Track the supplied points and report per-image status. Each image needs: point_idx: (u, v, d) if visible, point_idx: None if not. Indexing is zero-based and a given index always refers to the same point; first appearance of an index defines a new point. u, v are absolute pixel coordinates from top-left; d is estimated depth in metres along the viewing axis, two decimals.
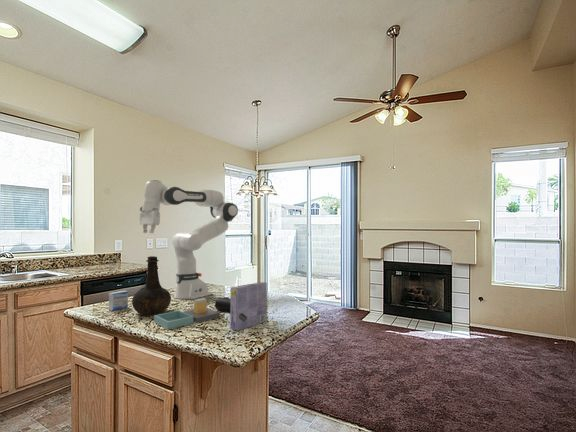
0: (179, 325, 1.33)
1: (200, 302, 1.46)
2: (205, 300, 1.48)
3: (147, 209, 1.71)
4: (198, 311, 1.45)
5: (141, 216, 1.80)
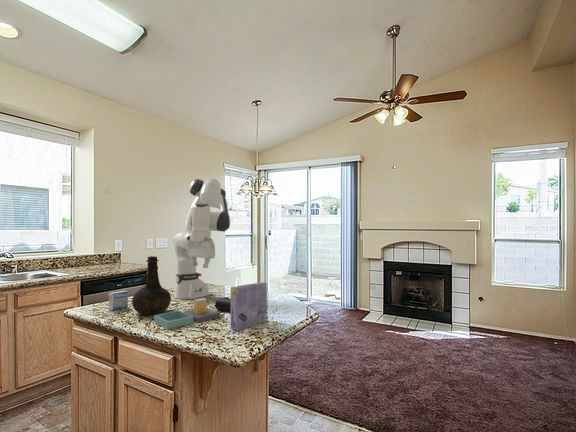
0: (179, 325, 1.33)
1: (200, 302, 1.46)
2: (205, 300, 1.48)
3: (198, 240, 1.44)
4: (198, 311, 1.45)
5: (189, 246, 1.52)
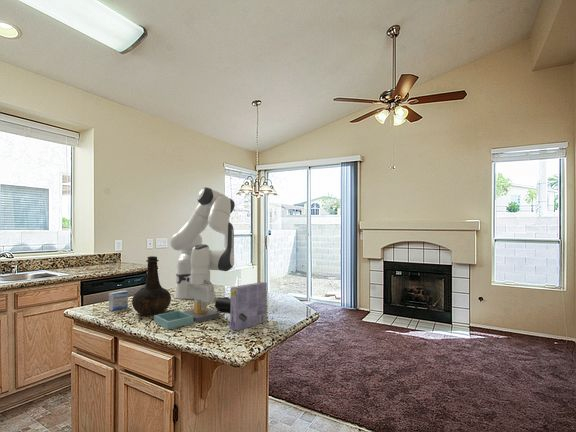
0: (179, 325, 1.33)
1: (200, 302, 1.46)
2: None
3: (198, 283, 1.43)
4: (198, 311, 1.45)
5: (188, 287, 1.52)
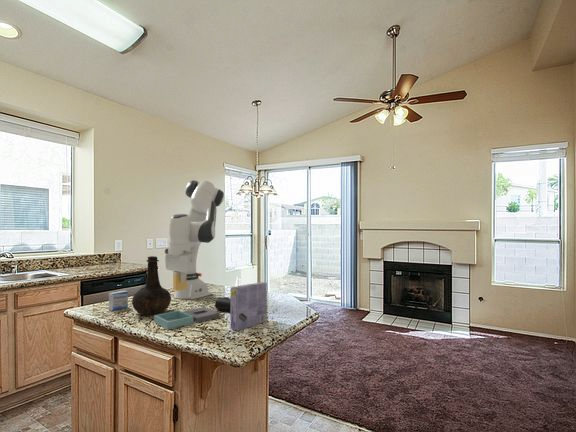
0: (179, 325, 1.33)
1: (180, 274, 1.38)
2: None
3: (176, 253, 1.35)
4: (177, 283, 1.37)
5: (167, 260, 1.44)
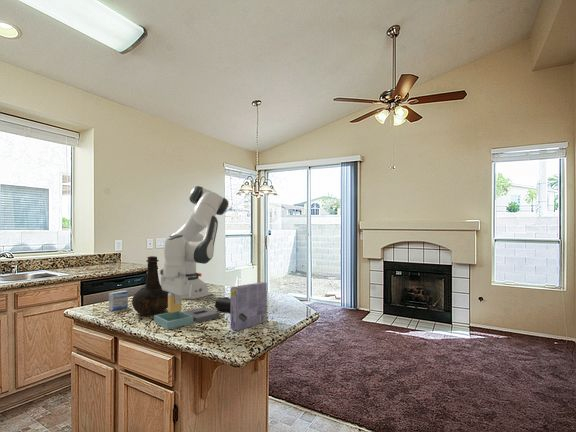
0: (179, 325, 1.33)
1: (174, 295, 1.37)
2: None
3: (171, 275, 1.34)
4: (172, 305, 1.36)
5: (163, 280, 1.43)
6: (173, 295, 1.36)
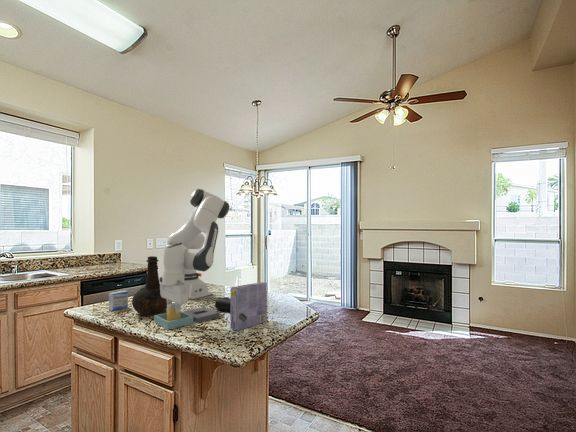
0: (179, 325, 1.33)
1: (173, 307, 1.37)
2: None
3: (170, 283, 1.34)
4: (171, 317, 1.36)
5: (162, 288, 1.42)
6: (172, 306, 1.36)
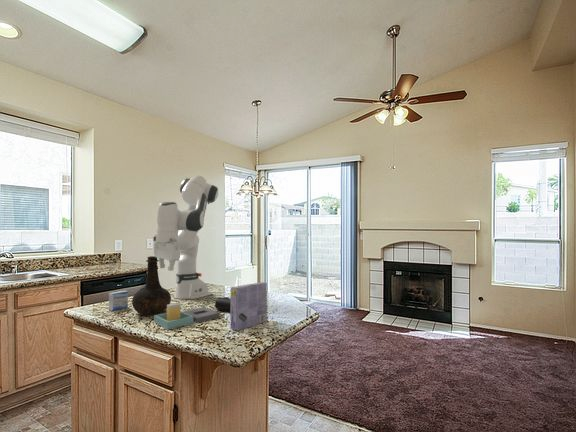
0: (179, 325, 1.33)
1: (173, 307, 1.37)
2: (179, 305, 1.39)
3: (163, 241, 1.35)
4: (171, 317, 1.36)
5: (156, 247, 1.44)
6: (172, 306, 1.36)
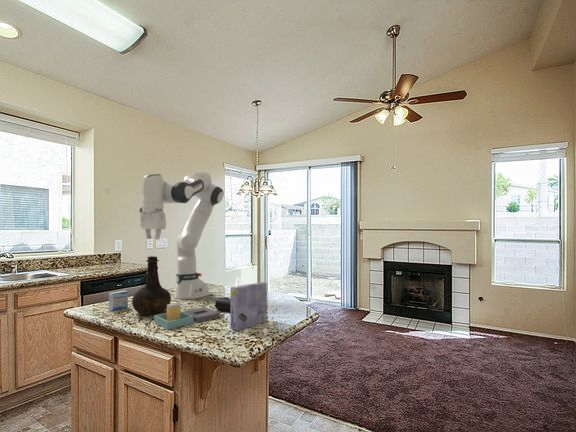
0: (179, 325, 1.33)
1: (173, 307, 1.37)
2: (179, 305, 1.39)
3: (149, 210, 1.39)
4: (171, 317, 1.36)
5: (142, 219, 1.47)
6: (172, 306, 1.36)
